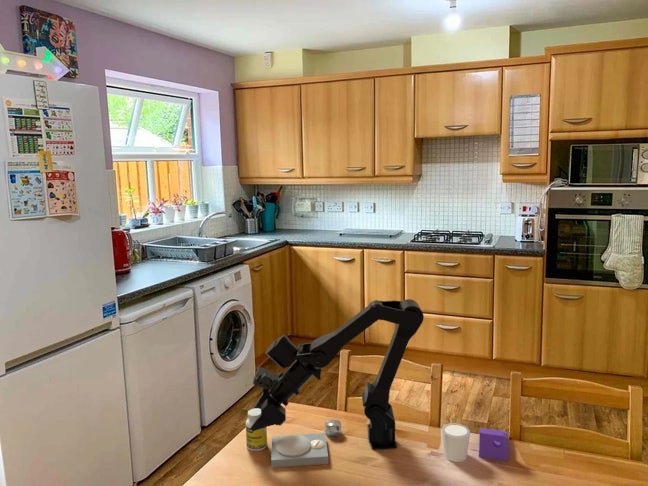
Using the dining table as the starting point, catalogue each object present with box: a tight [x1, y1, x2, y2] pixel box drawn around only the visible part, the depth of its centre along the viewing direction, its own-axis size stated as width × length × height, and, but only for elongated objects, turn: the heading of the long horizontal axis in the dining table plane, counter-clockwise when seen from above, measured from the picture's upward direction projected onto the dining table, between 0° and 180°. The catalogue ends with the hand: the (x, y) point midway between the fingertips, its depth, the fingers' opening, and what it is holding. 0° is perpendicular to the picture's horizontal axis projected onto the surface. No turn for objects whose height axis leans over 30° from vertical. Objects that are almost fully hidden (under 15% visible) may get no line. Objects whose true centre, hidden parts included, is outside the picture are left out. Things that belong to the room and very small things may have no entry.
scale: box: [270, 432, 329, 469], centre depth 136 cm, size 14×11×3 cm
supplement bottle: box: [245, 407, 268, 452], centre depth 139 cm, size 5×5×10 cm
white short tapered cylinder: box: [441, 422, 471, 463], centre depth 133 cm, size 7×7×7 cm
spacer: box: [324, 418, 342, 439], centre depth 145 cm, size 4×4×3 cm
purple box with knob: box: [478, 427, 510, 462], centre depth 136 cm, size 12×7×7 cm, turn 163°
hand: (252, 420), depth 138 cm, fingers open, 9 cm apart
